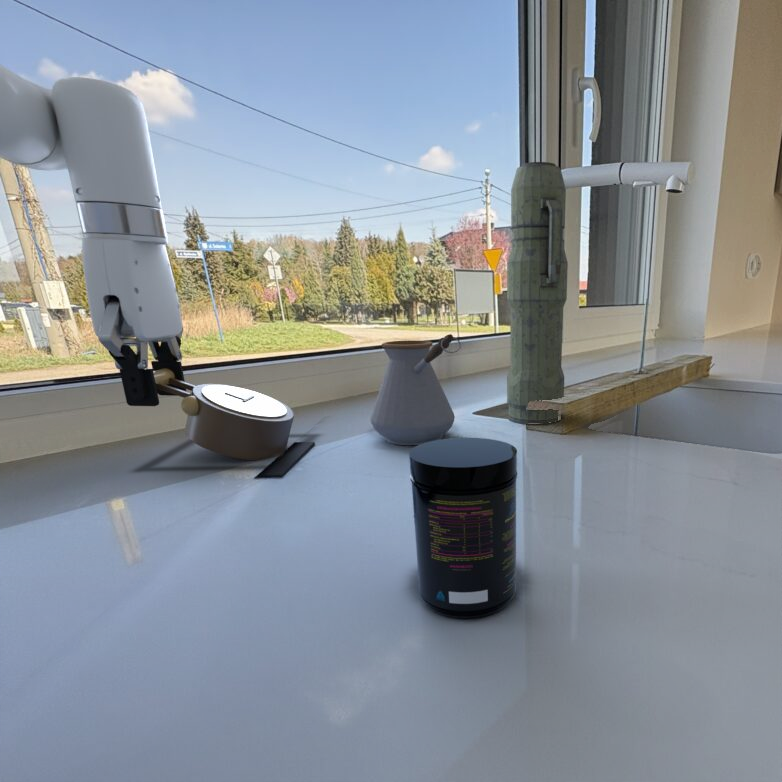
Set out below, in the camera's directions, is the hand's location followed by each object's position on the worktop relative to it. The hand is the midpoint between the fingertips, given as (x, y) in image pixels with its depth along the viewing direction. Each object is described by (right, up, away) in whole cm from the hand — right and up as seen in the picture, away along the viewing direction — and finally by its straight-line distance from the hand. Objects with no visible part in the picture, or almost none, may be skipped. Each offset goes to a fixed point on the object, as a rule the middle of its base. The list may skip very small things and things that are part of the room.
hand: (158, 398), depth 66 cm
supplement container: (+38, -19, -27) cm, 50 cm away
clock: (+5, -4, +2) cm, 7 cm away
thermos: (+45, +2, +25) cm, 51 cm away
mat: (+8, -7, +3) cm, 11 cm away
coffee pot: (+30, -5, +9) cm, 32 cm away
